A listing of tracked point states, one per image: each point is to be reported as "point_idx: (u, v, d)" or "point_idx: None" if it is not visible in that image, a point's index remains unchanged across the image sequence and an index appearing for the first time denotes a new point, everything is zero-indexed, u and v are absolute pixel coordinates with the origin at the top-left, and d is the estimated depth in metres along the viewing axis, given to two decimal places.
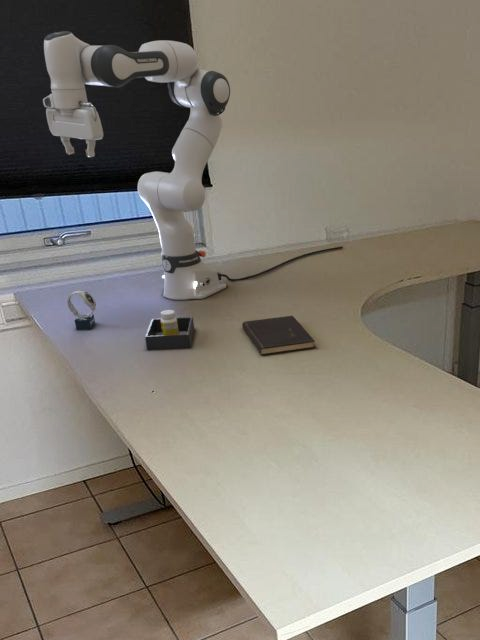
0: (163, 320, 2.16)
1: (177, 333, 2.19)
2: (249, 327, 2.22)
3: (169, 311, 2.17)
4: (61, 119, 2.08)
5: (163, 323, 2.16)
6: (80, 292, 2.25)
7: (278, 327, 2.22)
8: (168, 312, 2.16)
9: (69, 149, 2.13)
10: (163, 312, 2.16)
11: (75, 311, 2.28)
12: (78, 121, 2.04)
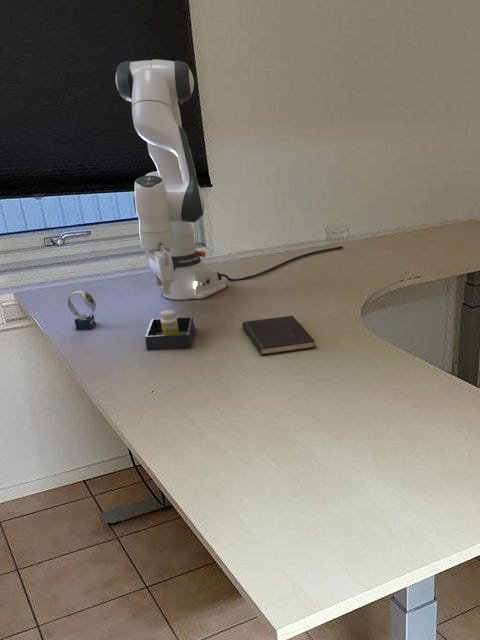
0: (163, 320, 2.16)
1: (177, 333, 2.19)
2: (249, 327, 2.22)
3: (169, 311, 2.17)
4: (151, 255, 2.10)
5: (163, 323, 2.16)
6: (80, 292, 2.25)
7: (278, 327, 2.22)
8: (168, 312, 2.16)
9: (158, 281, 2.15)
10: (163, 312, 2.16)
11: (75, 311, 2.28)
12: (156, 261, 2.04)
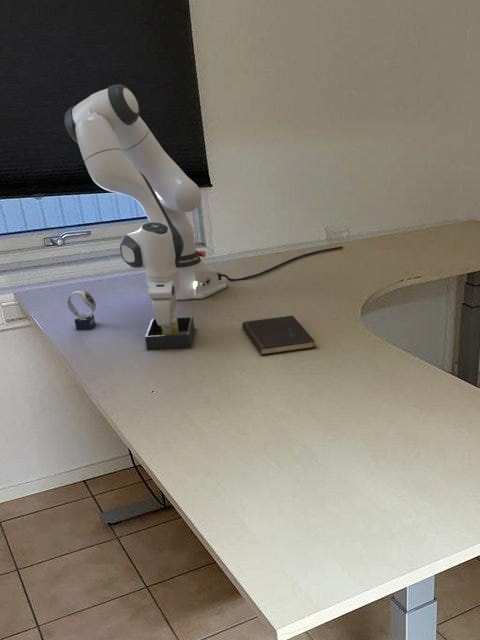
0: None
1: (177, 333, 2.19)
2: (249, 327, 2.22)
3: None
4: None
5: None
6: (80, 292, 2.25)
7: (278, 327, 2.22)
8: None
9: None
10: None
11: (75, 311, 2.28)
12: (172, 295, 2.18)
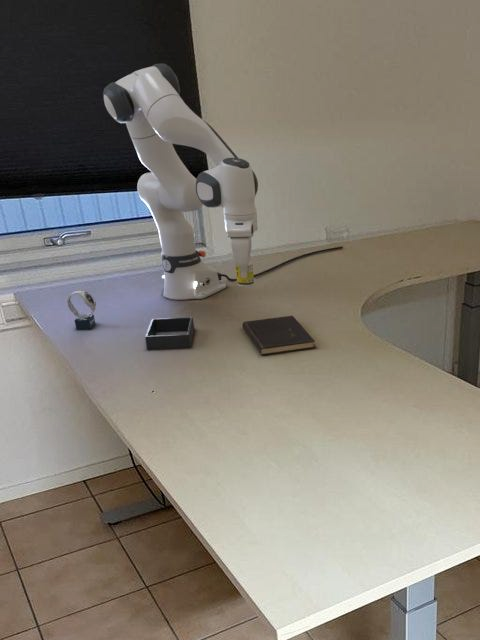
0: None
1: (252, 277, 2.10)
2: (249, 327, 2.22)
3: None
4: None
5: None
6: (80, 292, 2.25)
7: (278, 327, 2.22)
8: None
9: None
10: None
11: (75, 311, 2.28)
12: None
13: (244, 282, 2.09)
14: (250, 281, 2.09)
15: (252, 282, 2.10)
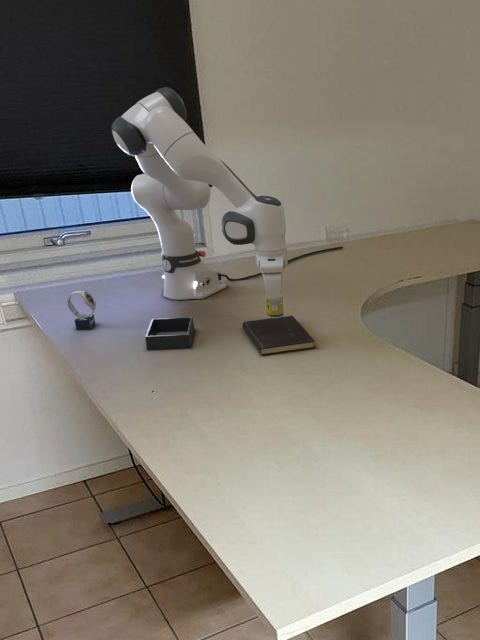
0: None
1: (282, 309, 2.15)
2: (249, 327, 2.22)
3: None
4: None
5: None
6: (80, 292, 2.25)
7: (278, 327, 2.22)
8: None
9: None
10: None
11: (75, 311, 2.28)
12: None
13: (274, 314, 2.14)
14: (280, 313, 2.15)
15: (282, 314, 2.16)
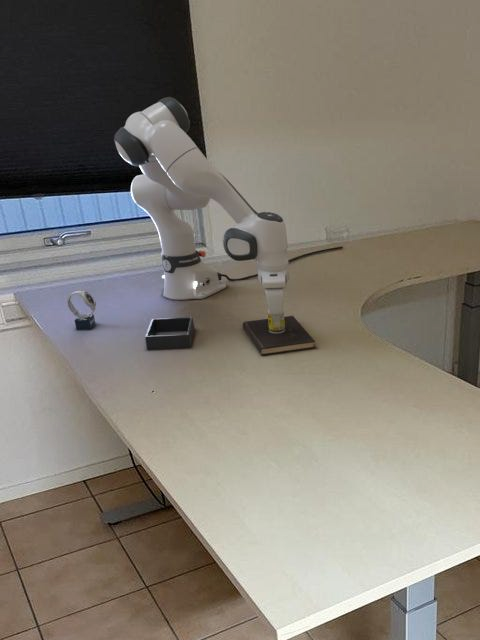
0: None
1: (283, 324, 2.18)
2: (249, 327, 2.22)
3: None
4: None
5: None
6: (80, 292, 2.25)
7: None
8: None
9: None
10: None
11: (75, 311, 2.28)
12: None
13: (276, 329, 2.17)
14: (281, 328, 2.17)
15: (283, 329, 2.18)
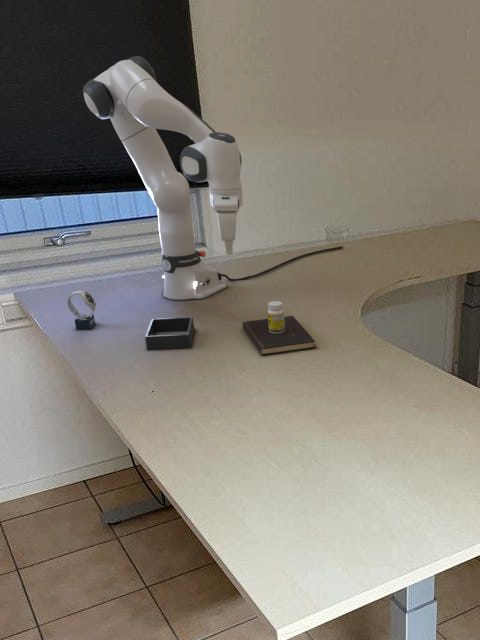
0: (271, 311, 2.15)
1: (283, 324, 2.18)
2: (249, 327, 2.22)
3: (276, 302, 2.16)
4: None
5: (271, 314, 2.15)
6: (80, 292, 2.25)
7: None
8: (276, 303, 2.15)
9: None
10: (271, 303, 2.15)
11: (75, 311, 2.28)
12: None
13: (276, 329, 2.17)
14: (281, 328, 2.17)
15: (283, 329, 2.18)
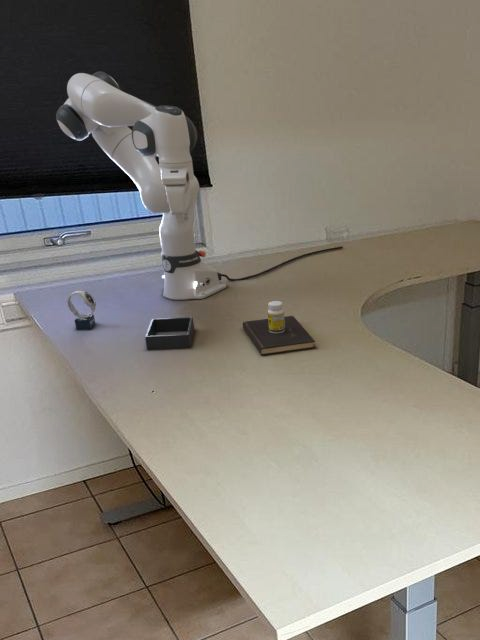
0: (271, 311, 2.15)
1: (283, 324, 2.18)
2: (249, 327, 2.22)
3: (277, 302, 2.16)
4: None
5: (271, 314, 2.15)
6: (80, 292, 2.25)
7: None
8: (276, 303, 2.15)
9: None
10: (271, 303, 2.15)
11: (75, 311, 2.28)
12: (186, 188, 2.10)
13: (276, 329, 2.17)
14: (281, 328, 2.17)
15: (283, 329, 2.18)
